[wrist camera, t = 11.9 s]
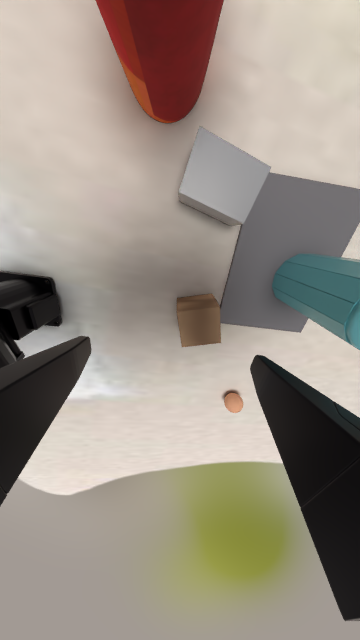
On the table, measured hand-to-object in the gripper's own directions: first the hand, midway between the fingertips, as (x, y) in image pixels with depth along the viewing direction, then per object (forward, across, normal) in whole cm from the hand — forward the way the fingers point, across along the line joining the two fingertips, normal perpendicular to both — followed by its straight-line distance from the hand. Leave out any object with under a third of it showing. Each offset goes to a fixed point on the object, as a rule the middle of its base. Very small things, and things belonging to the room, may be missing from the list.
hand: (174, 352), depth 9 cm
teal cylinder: (+13, -14, -3) cm, 19 cm away
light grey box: (+13, -2, -10) cm, 17 cm away
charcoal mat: (+13, -12, -4) cm, 18 cm away
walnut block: (+13, -3, +3) cm, 14 cm away
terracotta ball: (+12, -12, +18) cm, 24 cm away
